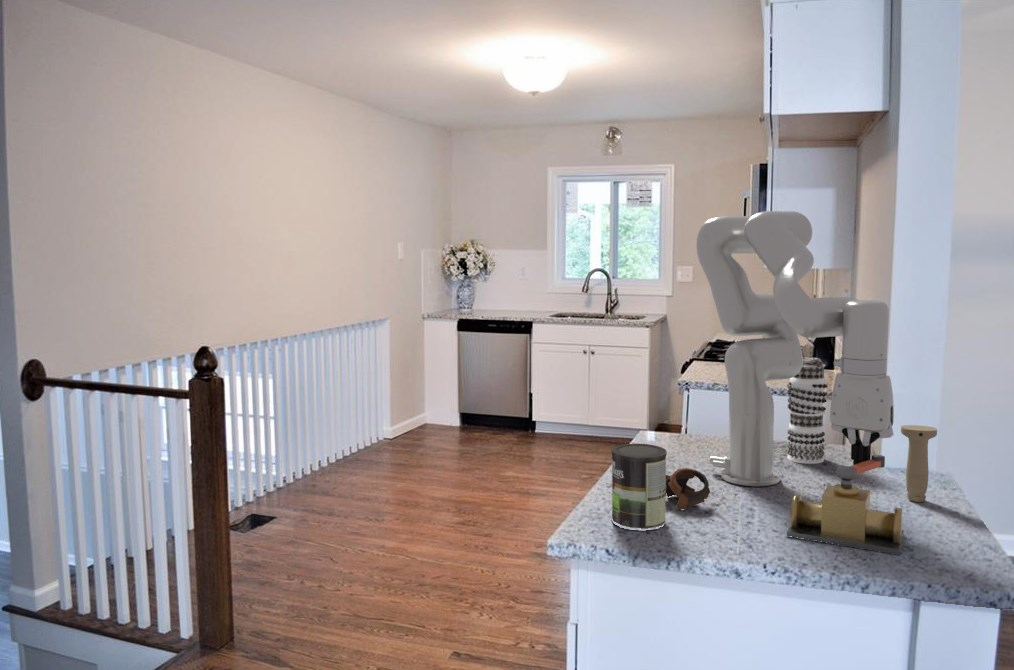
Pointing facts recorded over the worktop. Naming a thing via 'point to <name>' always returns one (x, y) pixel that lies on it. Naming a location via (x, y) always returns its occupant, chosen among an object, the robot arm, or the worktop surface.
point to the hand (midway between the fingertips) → (860, 464)
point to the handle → (917, 460)
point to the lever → (861, 467)
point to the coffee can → (638, 485)
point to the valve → (846, 520)
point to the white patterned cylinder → (807, 413)
